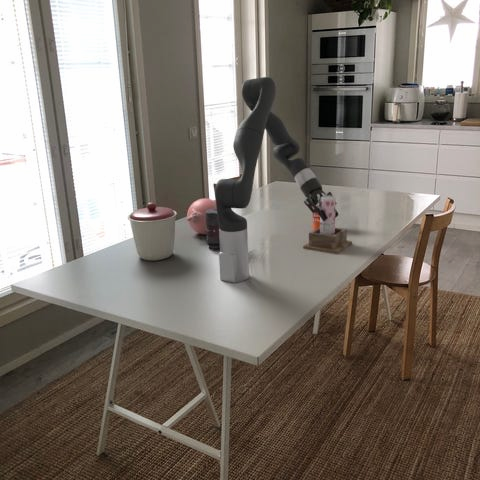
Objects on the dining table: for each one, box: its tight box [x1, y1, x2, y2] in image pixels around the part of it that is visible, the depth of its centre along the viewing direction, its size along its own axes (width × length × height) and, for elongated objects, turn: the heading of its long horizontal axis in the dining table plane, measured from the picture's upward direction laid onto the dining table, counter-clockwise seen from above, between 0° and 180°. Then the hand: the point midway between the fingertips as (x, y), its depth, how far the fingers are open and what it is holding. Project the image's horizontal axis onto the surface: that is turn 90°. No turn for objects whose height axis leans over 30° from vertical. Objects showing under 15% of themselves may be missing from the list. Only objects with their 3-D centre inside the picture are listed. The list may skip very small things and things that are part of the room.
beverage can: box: [320, 196, 336, 236], centre depth 199 cm, size 6×6×15 cm
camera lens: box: [205, 209, 220, 252], centre depth 203 cm, size 8×8×15 cm
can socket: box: [302, 227, 353, 255], centre depth 201 cm, size 14×14×6 cm
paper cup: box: [312, 206, 320, 230], centre depth 223 cm, size 8×8×14 cm
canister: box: [127, 201, 178, 261], centre depth 195 cm, size 18×18×21 cm
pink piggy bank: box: [186, 198, 217, 236], centre depth 220 cm, size 15×20×15 cm
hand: (331, 217), depth 197 cm, fingers closed on beverage can, 5 cm apart
